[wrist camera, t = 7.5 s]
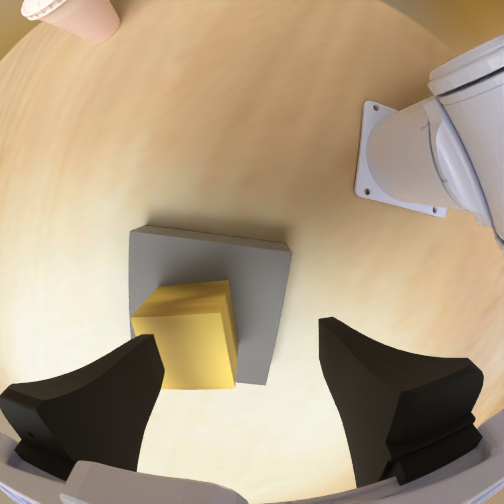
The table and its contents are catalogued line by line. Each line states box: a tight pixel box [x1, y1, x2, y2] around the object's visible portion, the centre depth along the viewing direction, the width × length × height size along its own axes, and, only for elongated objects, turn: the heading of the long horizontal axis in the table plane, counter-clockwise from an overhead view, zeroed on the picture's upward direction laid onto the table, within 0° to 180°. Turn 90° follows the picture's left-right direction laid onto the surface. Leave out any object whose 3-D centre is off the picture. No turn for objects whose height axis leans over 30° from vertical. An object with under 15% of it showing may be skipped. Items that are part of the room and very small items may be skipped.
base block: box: [129, 225, 292, 385], centre depth 20 cm, size 11×11×4 cm
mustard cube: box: [130, 280, 239, 390], centre depth 16 cm, size 5×5×5 cm
